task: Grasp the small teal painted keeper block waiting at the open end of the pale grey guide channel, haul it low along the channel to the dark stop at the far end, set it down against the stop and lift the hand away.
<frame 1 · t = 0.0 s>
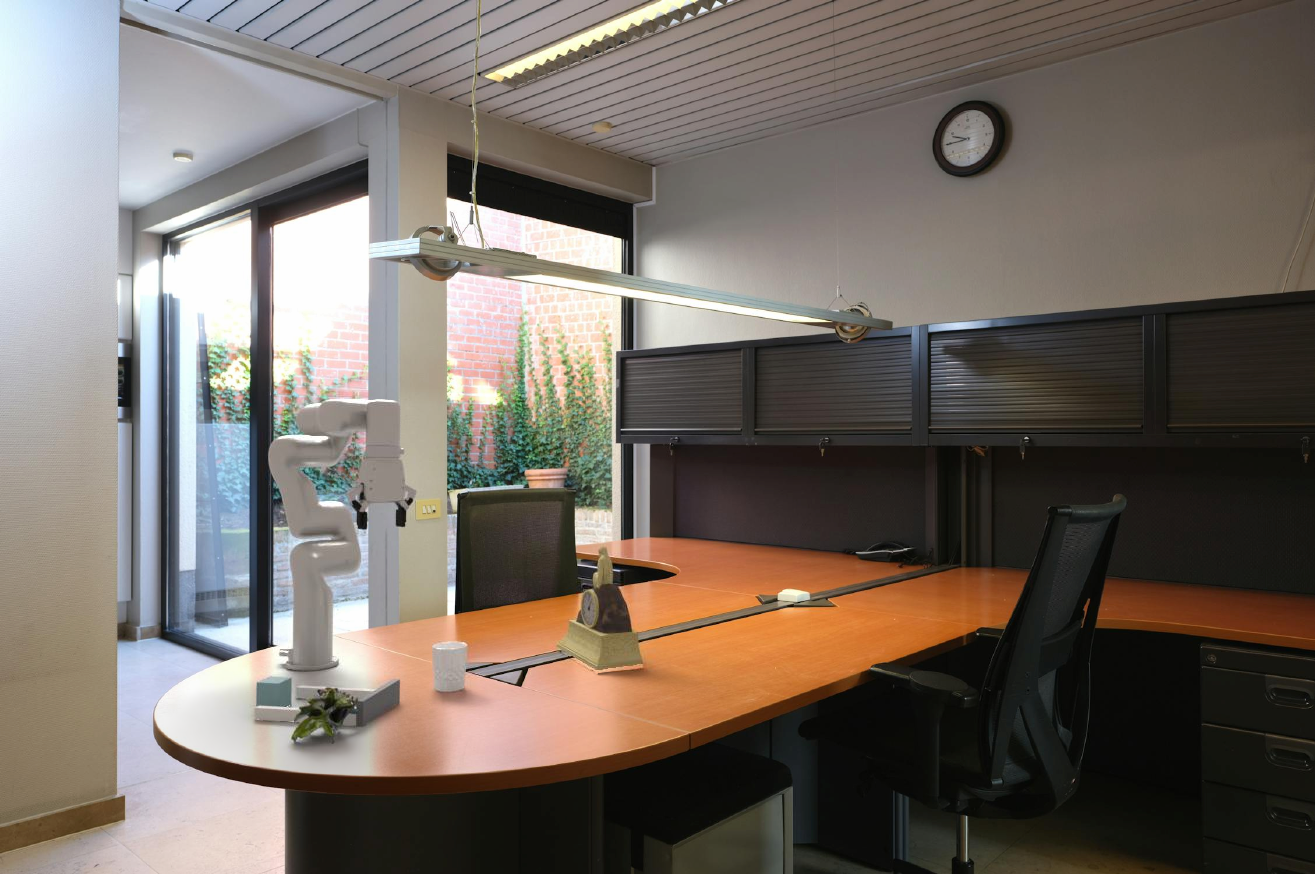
hand: (381, 527, 203), 37 cm above the table, tool pointing down, fingers open, 9 cm apart
passion flower: (327, 739, 170), on the table
decorative clock: (598, 660, 234), on the table
guide channel: (330, 710, 187), on the table
white cup: (449, 689, 205), on the table
keeper block: (273, 708, 188), on the table
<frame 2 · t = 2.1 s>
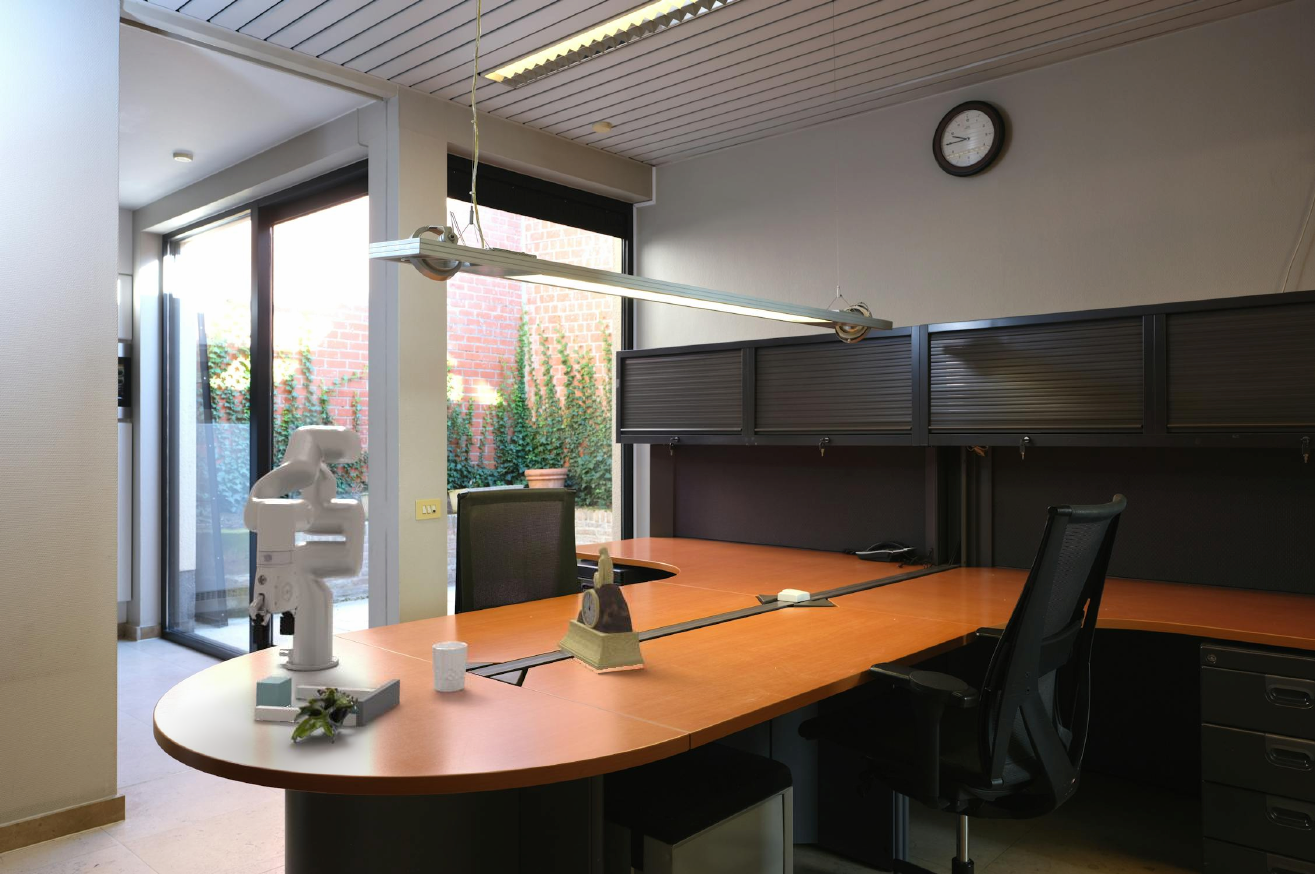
hand: (274, 639, 188), 15 cm above the table, tool pointing down, fingers open, 9 cm apart
nothing on the table moved.
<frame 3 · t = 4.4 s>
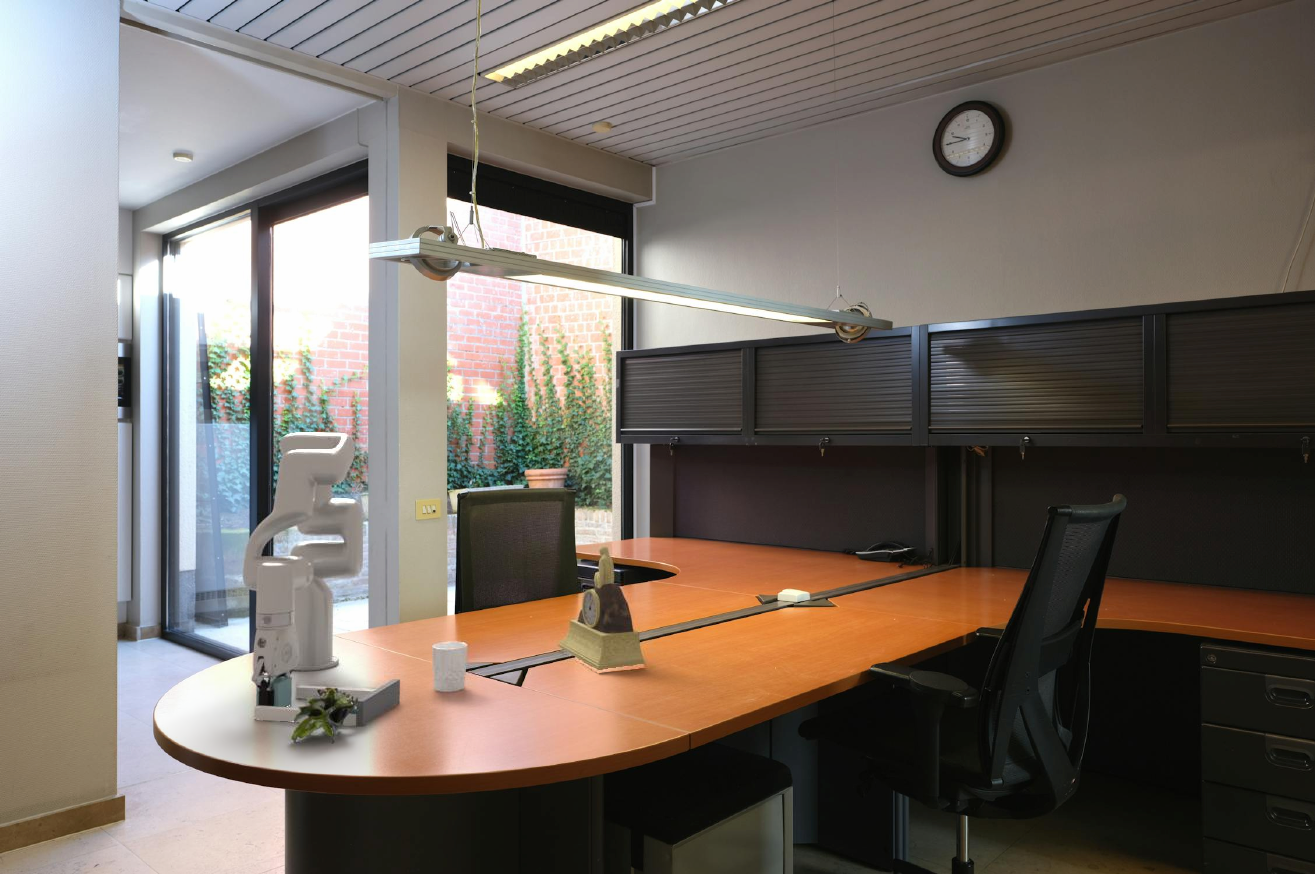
hand: (274, 704, 188), 1 cm above the table, tool pointing down, fingers closed on keeper block, 5 cm apart
keeper block: (273, 707, 188), on the table, touching gripper
everything else where it was.
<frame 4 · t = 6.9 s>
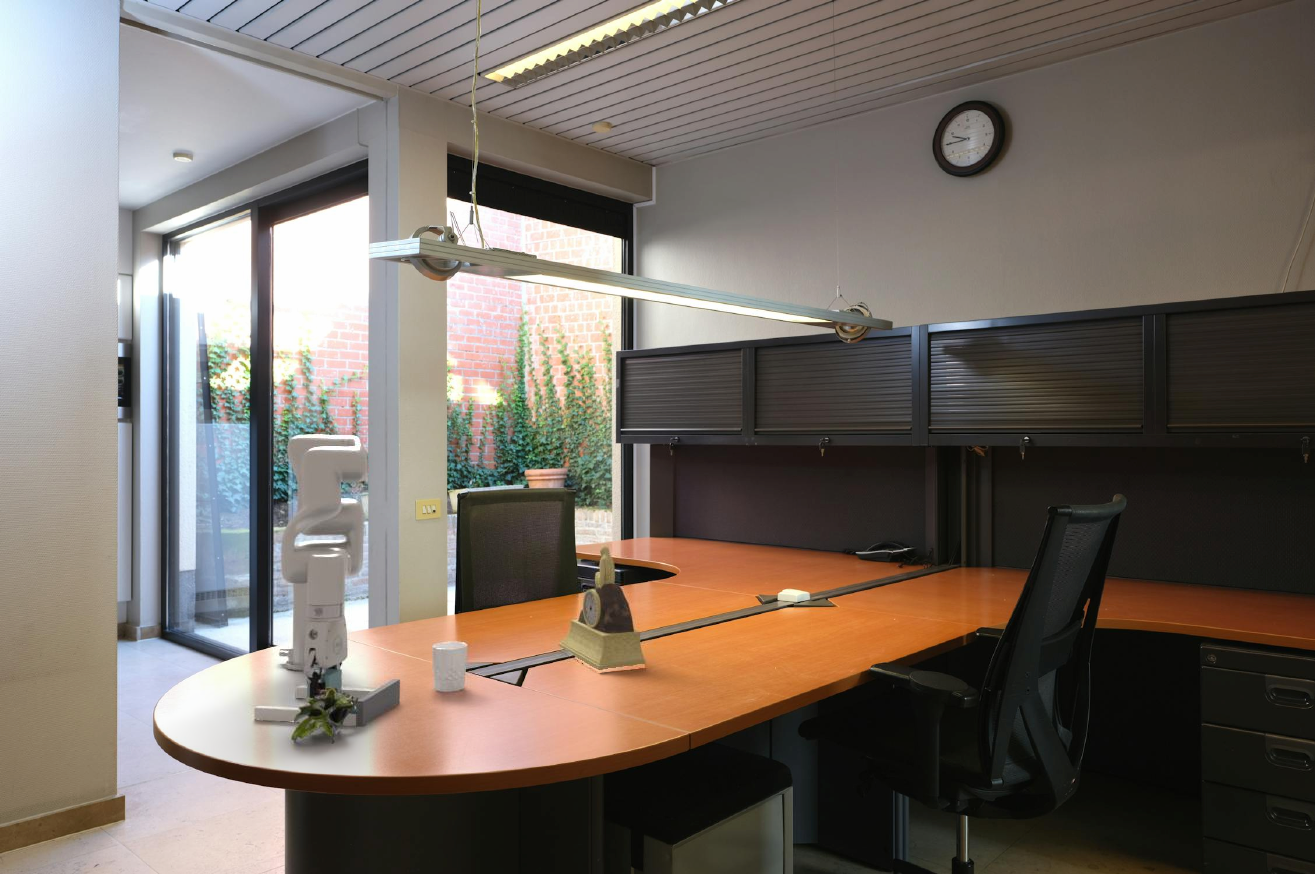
hand: (324, 696, 187), 3 cm above the table, tool pointing down, fingers closed on keeper block, 5 cm apart
keeper block: (324, 700, 187), point 2 cm above the table, touching gripper
everything else where it was.
when the fingers open (1 cm above the table, at t = 9.8 s): keeper block stays where it is, resting in guide channel.
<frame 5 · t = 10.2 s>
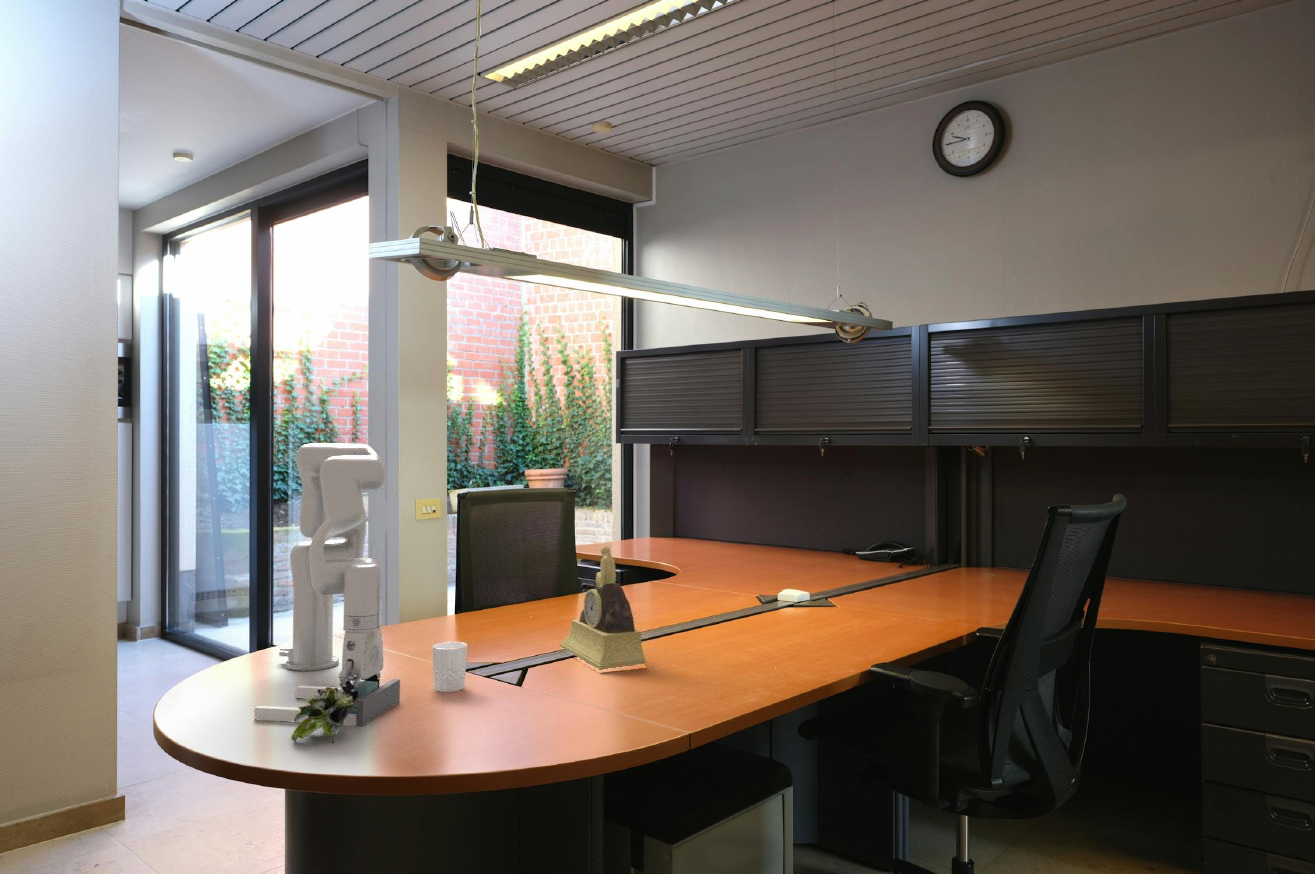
hand: (361, 703, 186), 2 cm above the table, tool pointing down, fingers open, 9 cm apart
keeper block: (360, 712, 186), resting in guide channel
everything else where it was.
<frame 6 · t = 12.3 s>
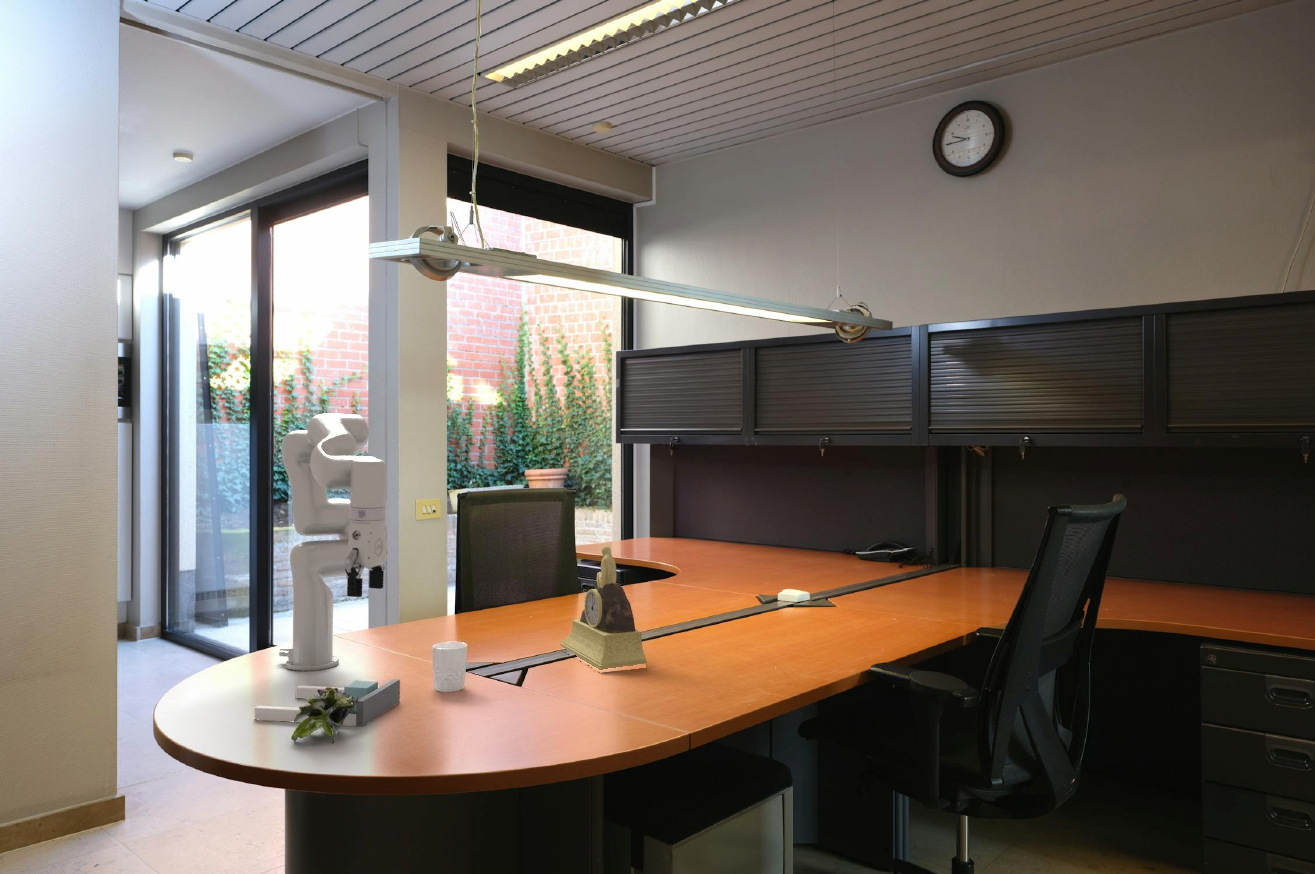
hand: (365, 592, 194), 24 cm above the table, tool pointing down, fingers open, 9 cm apart
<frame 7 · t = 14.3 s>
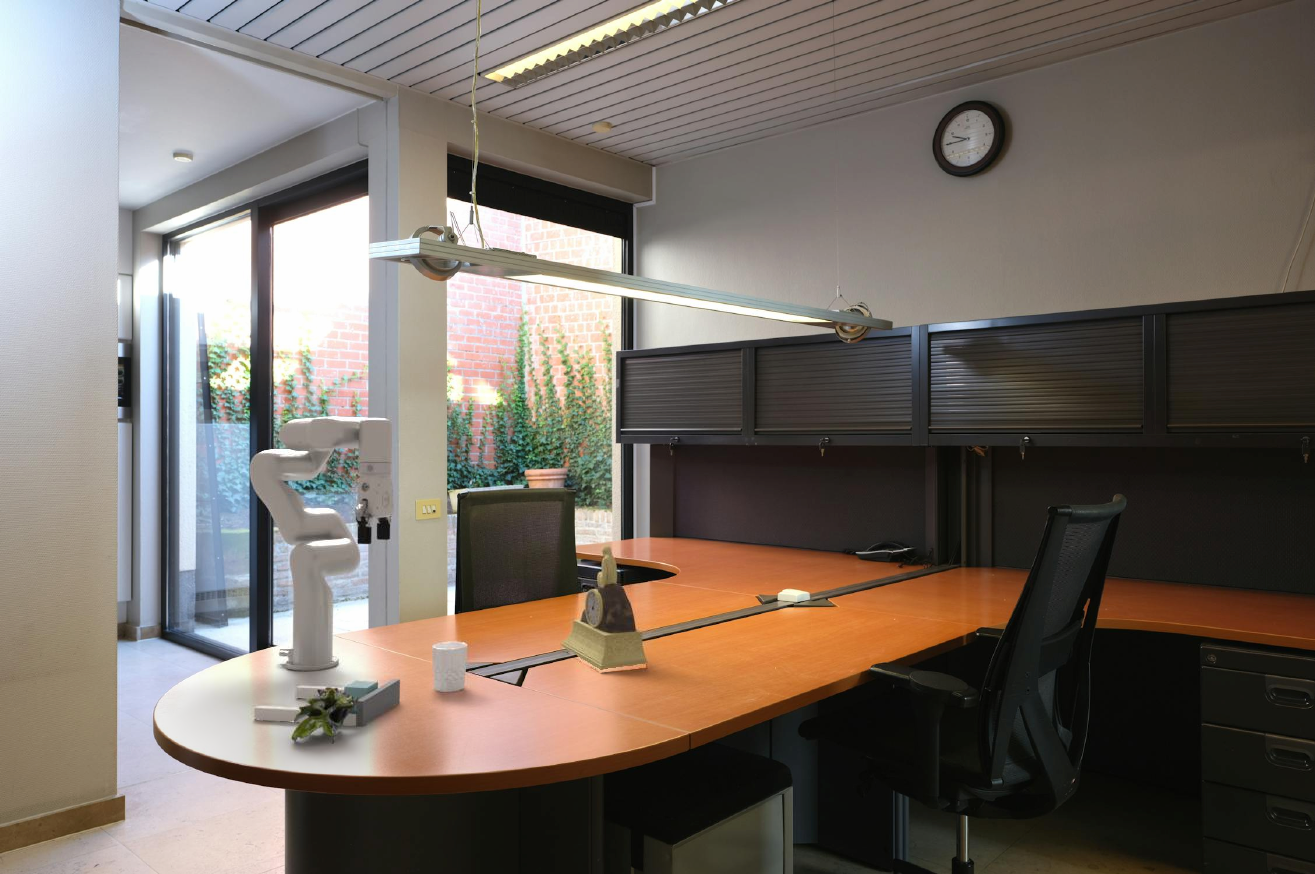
hand: (374, 541, 210), 33 cm above the table, tool pointing down, fingers open, 9 cm apart
at the end: keeper block inside the target area on the guide channel (0.7 cm from its centre), point 0.0 cm above the guide channel's base; keeper block tilted 0°; the gripper is holding nothing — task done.
